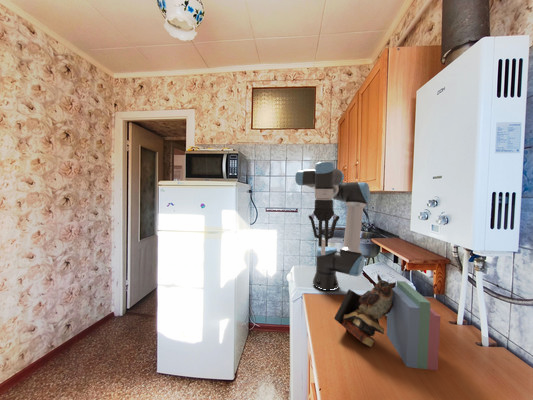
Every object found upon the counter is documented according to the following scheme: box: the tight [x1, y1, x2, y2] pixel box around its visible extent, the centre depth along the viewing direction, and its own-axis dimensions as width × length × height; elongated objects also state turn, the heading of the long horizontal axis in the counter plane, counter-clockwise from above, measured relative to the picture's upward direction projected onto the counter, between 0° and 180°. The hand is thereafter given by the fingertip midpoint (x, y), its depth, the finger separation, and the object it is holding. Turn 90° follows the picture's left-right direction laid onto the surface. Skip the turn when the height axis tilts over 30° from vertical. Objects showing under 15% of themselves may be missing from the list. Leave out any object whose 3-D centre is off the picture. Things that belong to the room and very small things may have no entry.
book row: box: [386, 280, 441, 371], centre depth 75 cm, size 16×9×22 cm, turn 171°
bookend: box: [333, 274, 397, 348], centre depth 82 cm, size 15×11×25 cm
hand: (322, 253), depth 90 cm, fingers closed
